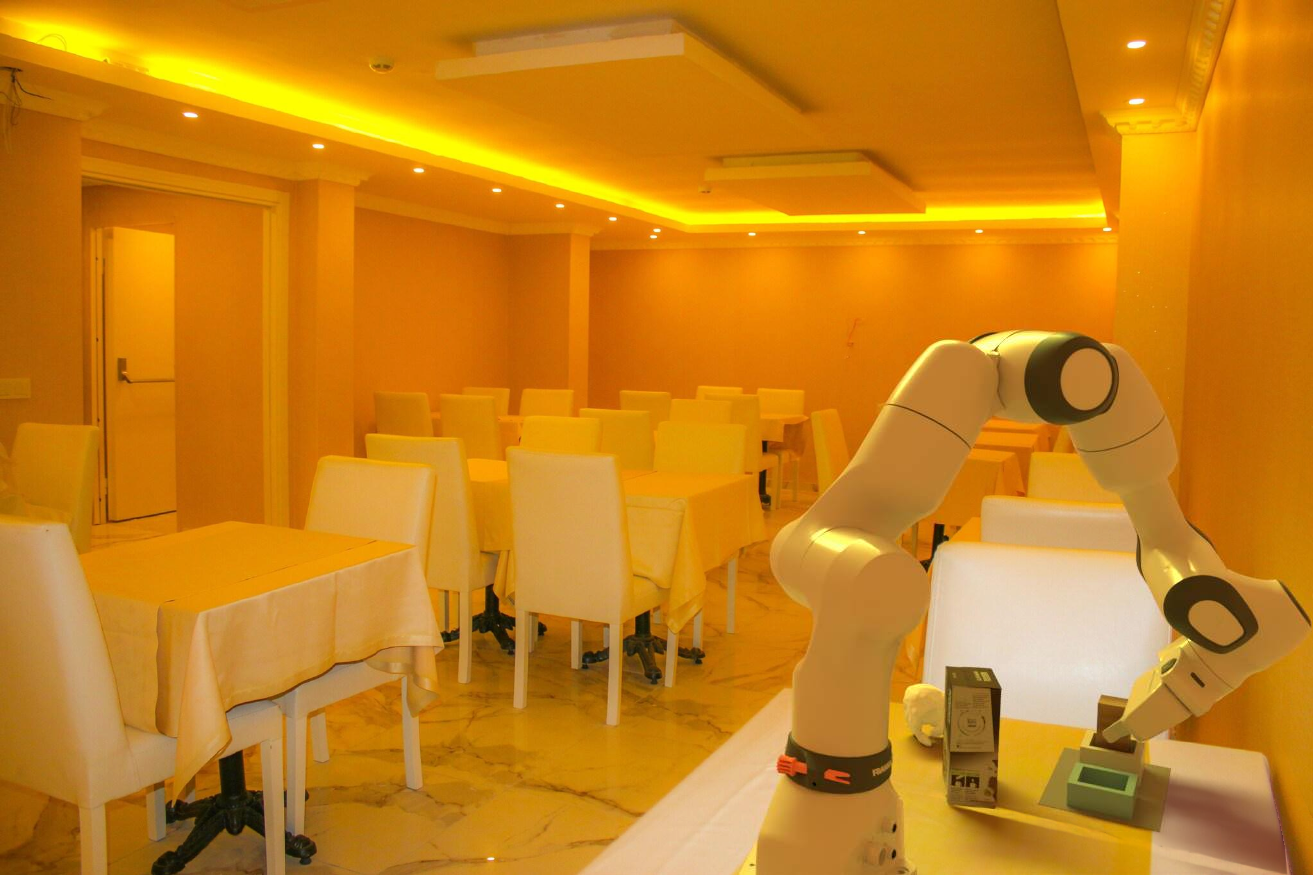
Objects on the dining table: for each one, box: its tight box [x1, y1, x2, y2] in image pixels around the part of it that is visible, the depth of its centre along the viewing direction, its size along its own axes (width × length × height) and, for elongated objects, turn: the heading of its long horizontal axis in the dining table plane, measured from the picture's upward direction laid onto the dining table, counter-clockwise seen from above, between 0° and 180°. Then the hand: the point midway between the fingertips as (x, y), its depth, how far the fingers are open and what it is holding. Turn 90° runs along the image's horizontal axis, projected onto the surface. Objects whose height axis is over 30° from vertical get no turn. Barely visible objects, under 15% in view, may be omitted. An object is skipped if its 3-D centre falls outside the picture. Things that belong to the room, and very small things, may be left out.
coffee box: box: [941, 665, 1003, 810], centre depth 131 cm, size 9×6×16 cm
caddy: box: [1037, 728, 1171, 833], centre depth 132 cm, size 22×14×5 cm, turn 149°
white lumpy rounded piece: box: [902, 683, 945, 747], centre depth 150 cm, size 6×8×12 cm
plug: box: [1096, 694, 1132, 754], centre depth 137 cm, size 4×4×10 cm
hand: (1108, 729), depth 137 cm, fingers open, 5 cm apart
